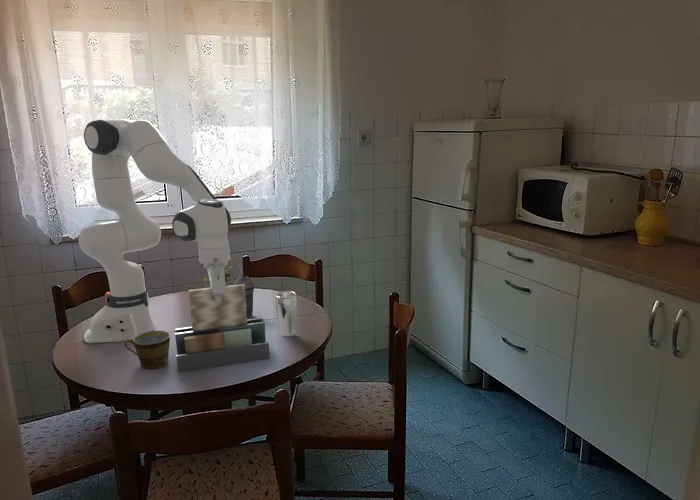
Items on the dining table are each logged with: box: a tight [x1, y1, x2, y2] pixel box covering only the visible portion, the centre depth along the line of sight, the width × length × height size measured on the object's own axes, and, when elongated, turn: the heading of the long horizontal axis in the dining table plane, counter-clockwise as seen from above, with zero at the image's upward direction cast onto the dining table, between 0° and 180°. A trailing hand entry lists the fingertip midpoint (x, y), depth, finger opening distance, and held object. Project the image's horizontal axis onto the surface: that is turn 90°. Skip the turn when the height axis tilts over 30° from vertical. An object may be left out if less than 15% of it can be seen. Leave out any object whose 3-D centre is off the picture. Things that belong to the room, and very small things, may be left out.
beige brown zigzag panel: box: [188, 284, 248, 331], centre depth 157 cm, size 16×2×20 cm, turn 108°
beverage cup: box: [234, 263, 255, 320], centre depth 191 cm, size 7×7×20 cm
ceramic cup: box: [124, 330, 171, 371], centre depth 152 cm, size 13×10×10 cm
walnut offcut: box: [184, 332, 225, 354], centre depth 151 cm, size 11×2×9 cm, turn 108°
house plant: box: [201, 262, 234, 288], centre depth 208 cm, size 14×14×16 cm
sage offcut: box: [224, 328, 252, 348], centre depth 156 cm, size 9×2×8 cm, turn 108°
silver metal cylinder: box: [275, 290, 298, 338], centre depth 172 cm, size 7×7×15 cm
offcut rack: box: [174, 317, 271, 373], centre depth 155 cm, size 26×11×10 cm, turn 108°
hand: (218, 300), depth 155 cm, fingers closed on beige brown zigzag panel, 1 cm apart
